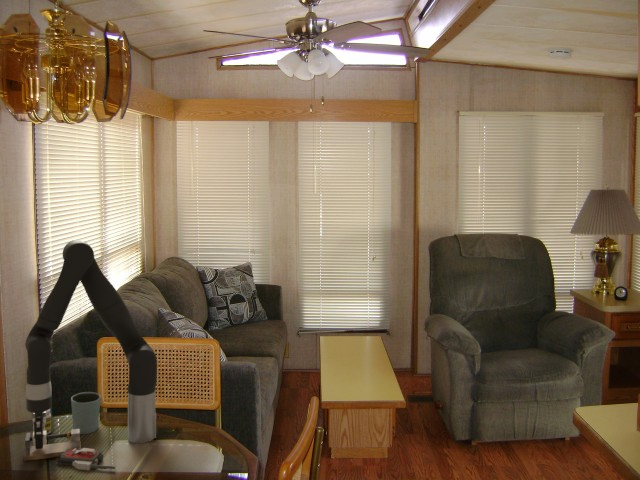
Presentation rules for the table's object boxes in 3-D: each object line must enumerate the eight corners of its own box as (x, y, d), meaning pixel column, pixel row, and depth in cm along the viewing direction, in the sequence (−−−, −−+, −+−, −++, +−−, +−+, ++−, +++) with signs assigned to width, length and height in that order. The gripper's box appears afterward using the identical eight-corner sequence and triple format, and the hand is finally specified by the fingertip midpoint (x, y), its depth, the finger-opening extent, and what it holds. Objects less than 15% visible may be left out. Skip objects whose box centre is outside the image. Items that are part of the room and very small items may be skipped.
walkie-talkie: (52, 468, 198) (113, 474, 196) (52, 455, 197) (113, 460, 195) (66, 455, 206) (124, 460, 204) (66, 442, 206) (124, 447, 204)
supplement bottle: (45, 436, 219) (45, 413, 218) (33, 434, 220) (33, 411, 218) (54, 430, 223) (53, 407, 222) (42, 428, 224) (41, 406, 223)
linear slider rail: (80, 444, 213) (80, 426, 213) (80, 453, 207) (80, 434, 206) (25, 451, 207) (25, 432, 206) (24, 460, 201) (23, 441, 200)
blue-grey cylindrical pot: (80, 421, 231) (80, 390, 230) (106, 424, 230) (106, 393, 228) (65, 433, 221) (65, 401, 220) (92, 436, 220) (92, 403, 218)
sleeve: (46, 440, 207) (46, 430, 207) (46, 444, 204) (46, 434, 204) (33, 441, 206) (33, 431, 205) (32, 446, 203) (32, 436, 202)
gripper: (50, 401, 198) (51, 452, 200) (52, 386, 211) (52, 433, 213) (24, 404, 195) (25, 455, 197) (27, 388, 208) (28, 436, 210)
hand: (39, 443), depth 205 cm, fingers open, 6 cm apart
